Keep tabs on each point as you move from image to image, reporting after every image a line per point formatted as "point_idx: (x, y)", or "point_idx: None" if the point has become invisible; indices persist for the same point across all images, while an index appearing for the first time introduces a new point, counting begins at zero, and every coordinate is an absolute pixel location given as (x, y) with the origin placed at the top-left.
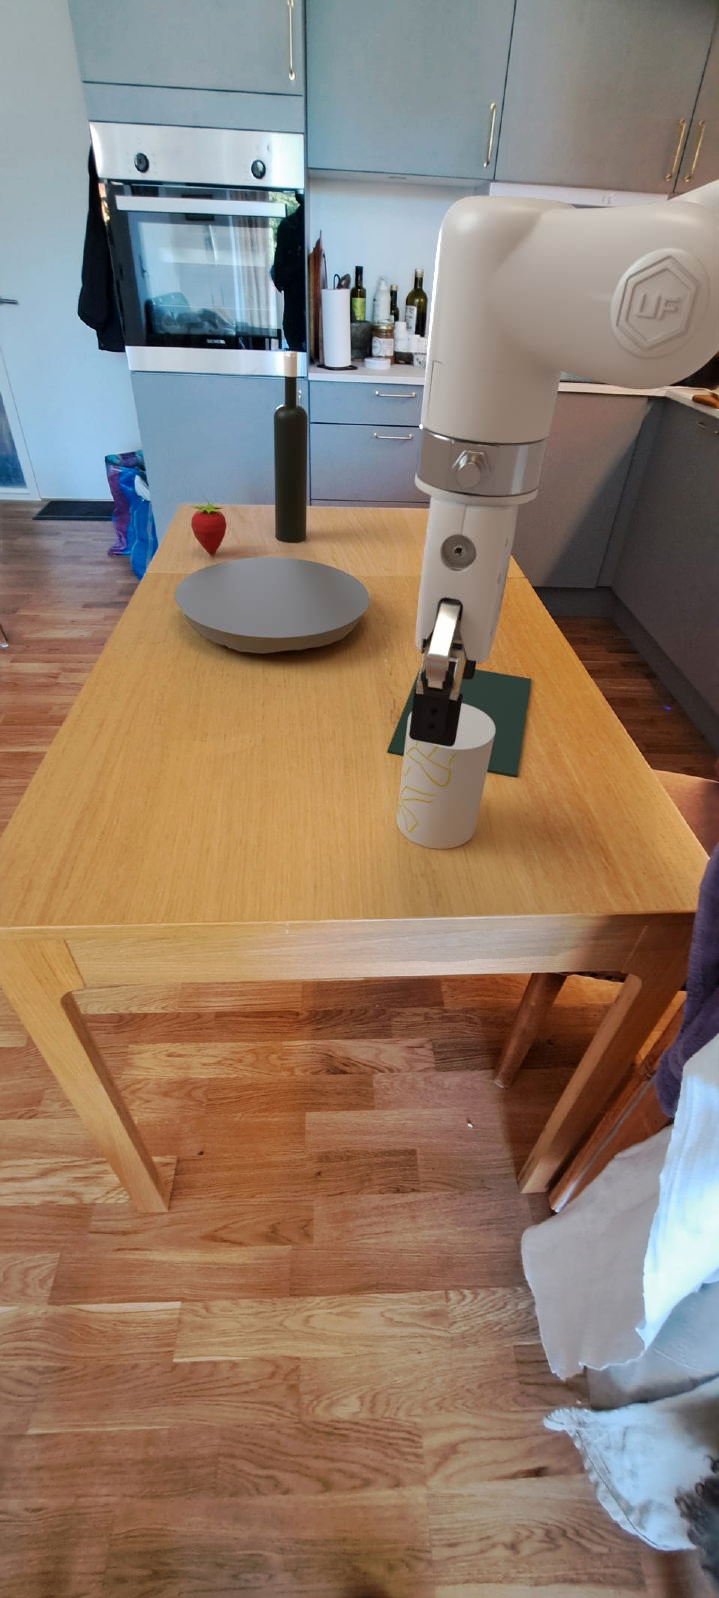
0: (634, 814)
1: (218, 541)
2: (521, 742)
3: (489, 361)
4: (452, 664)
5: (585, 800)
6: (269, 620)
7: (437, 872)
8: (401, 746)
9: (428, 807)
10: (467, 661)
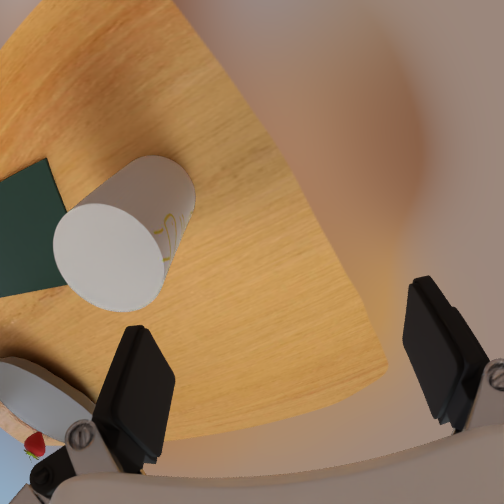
0: (36, 40)
1: (35, 437)
2: (6, 179)
3: None
4: (157, 378)
5: (39, 85)
6: (64, 407)
7: (223, 164)
8: None
9: (184, 213)
10: (141, 368)
